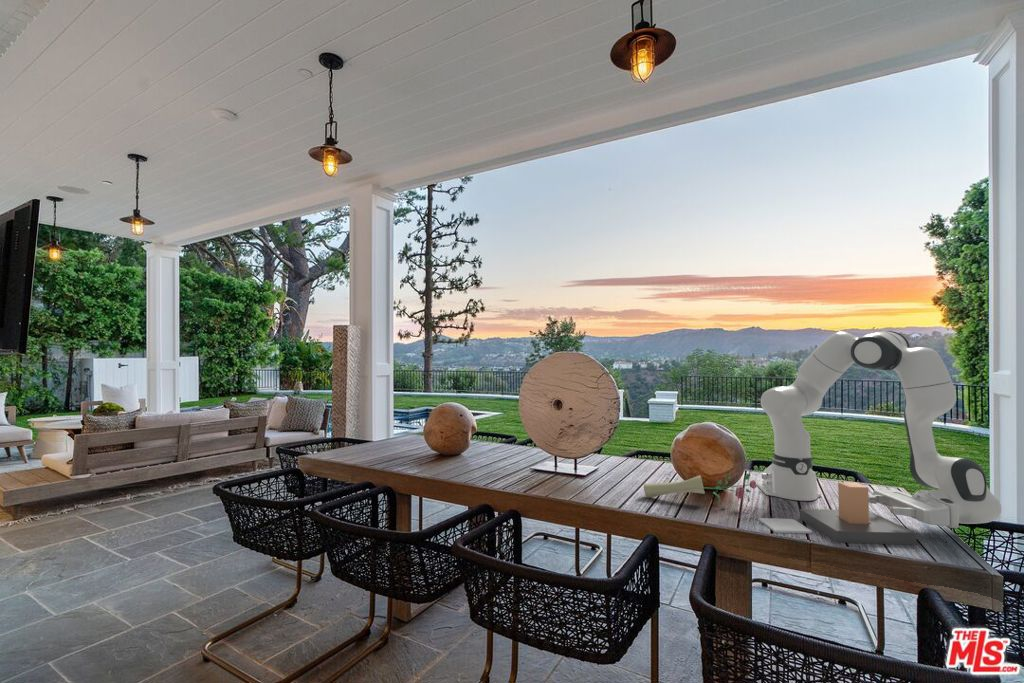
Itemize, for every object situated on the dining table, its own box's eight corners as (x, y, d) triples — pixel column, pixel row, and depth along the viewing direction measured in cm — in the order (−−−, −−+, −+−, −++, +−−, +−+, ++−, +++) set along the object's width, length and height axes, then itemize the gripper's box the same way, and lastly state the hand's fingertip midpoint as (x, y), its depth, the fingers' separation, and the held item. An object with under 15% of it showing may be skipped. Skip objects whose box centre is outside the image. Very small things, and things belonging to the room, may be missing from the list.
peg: (839, 527, 134) (838, 482, 135) (857, 527, 134) (856, 482, 134) (850, 534, 129) (849, 487, 130) (869, 534, 129) (868, 487, 129)
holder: (799, 518, 141) (799, 508, 141) (868, 520, 140) (868, 510, 140) (837, 542, 123) (836, 530, 123) (916, 544, 122) (916, 533, 122)
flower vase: (653, 517, 164) (761, 507, 151) (647, 516, 154) (762, 506, 141) (646, 482, 169) (751, 470, 156) (640, 480, 159) (751, 466, 146)
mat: (758, 520, 140) (758, 518, 140) (793, 520, 139) (793, 518, 139) (775, 532, 130) (775, 530, 130) (812, 533, 129) (812, 531, 129)
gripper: (902, 484, 141) (854, 483, 142) (963, 506, 120) (907, 505, 121) (902, 505, 141) (855, 504, 142) (963, 530, 120) (907, 529, 121)
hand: (879, 504), depth 131 cm, fingers open, 8 cm apart
